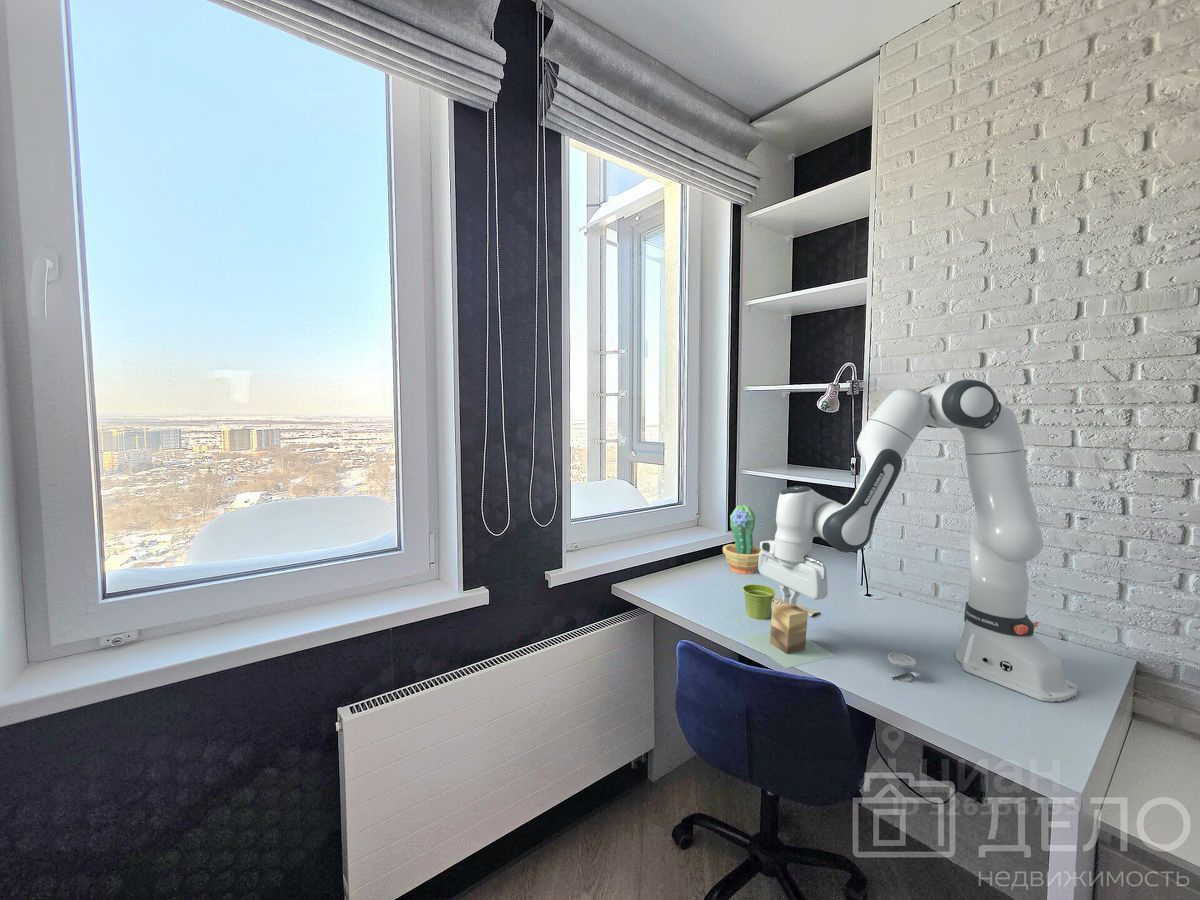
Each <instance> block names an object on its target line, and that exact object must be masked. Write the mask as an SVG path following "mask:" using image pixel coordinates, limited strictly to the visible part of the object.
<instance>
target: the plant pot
mask: <svg viewBox="0 0 1200 900" xmlns="http://www.w3.org/2000/svg"><path fill="white" fill-rule="evenodd" d="M741 590H742V591H743V595H744V600H745V609H746V611H745V612H746V615H747V616H748V617H749V618H751V619H754V620H758V621H759V620H761V621H763V620H767V619H769V618H770V612H771V610H772V605H773V604H772V599H773V598H774V595H775V596H776V593H777V592H776V590H775V589H774V588H772V587H770V586H768V585H764V584H757V583H754V584H753V583H752V584H751V583H750V584H746V585H743V586H742V587H741Z"/></svg>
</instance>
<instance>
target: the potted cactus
mask: <svg viewBox="0 0 1200 900" xmlns="http://www.w3.org/2000/svg"><path fill="white" fill-rule="evenodd" d="M729 519H730V521H729V522H730V524H729V525H730V529H731V531H732V535H733V539H734V543H730V544H726V545H723V546H722V553H723V554H724V555H725V559H726V561H727V563H728V565H729V569H730V571H731V572H733V573H737V574H740V575H742V574H743V575H747V574H748V575H751V574H753V573H755V569H756V567H757V566H758V561H759V553H760V551H761V549H760V546H759V547H758V546H755V545H754V542H753V539H754V537H753V533H754V530H755V525H756V515H755V513H754V511H753V510H752V508H751V507H750V505H746V504H742V505H741V504H738V505H736V507H735V508H734V510H733V511H732V513H731V514H730V516H729Z"/></svg>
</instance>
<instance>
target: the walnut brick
mask: <svg viewBox="0 0 1200 900" xmlns="http://www.w3.org/2000/svg"><path fill="white" fill-rule="evenodd" d="M769 632H770V644H772V645H773V646H775V647H777V648H778V649H780V650H781V651H783V652H784V653H786V654H790V653H794V652H798V651H802V650H805V645H806V639H807V631H804V632H799V633H795V634H790V635H788V634H786V633H784V632H783V631H781V630H779V629H777V628H776V627H774V626H772V625H771V624H770V631H769Z"/></svg>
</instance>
